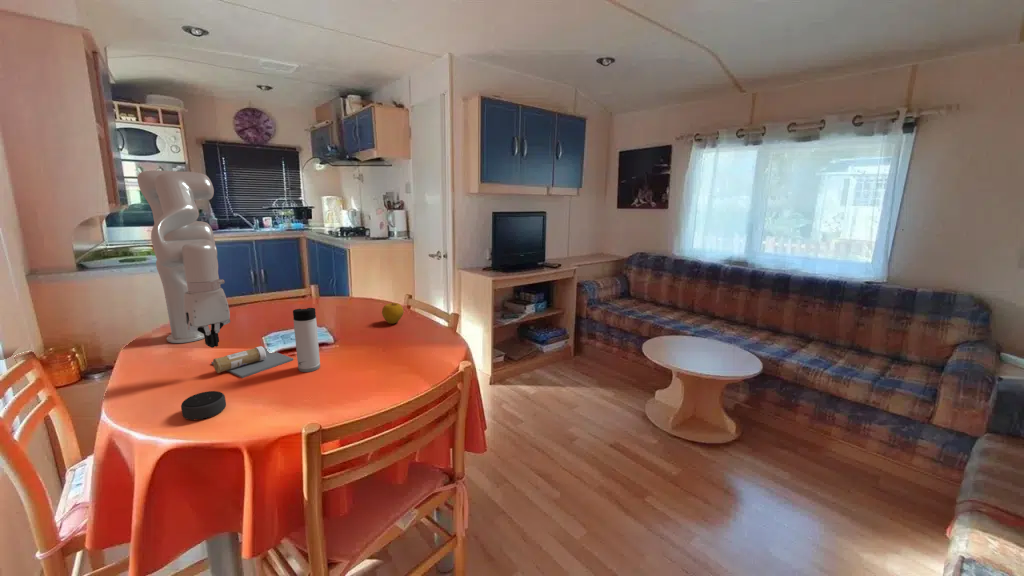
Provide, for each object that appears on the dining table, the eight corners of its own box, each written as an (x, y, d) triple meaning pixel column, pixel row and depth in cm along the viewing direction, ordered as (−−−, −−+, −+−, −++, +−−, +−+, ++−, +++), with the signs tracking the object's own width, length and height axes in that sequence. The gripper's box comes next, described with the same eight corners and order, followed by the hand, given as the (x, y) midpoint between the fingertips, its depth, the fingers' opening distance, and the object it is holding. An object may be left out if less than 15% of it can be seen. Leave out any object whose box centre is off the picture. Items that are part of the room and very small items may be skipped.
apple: (400, 326, 171) (399, 306, 169) (379, 326, 171) (378, 305, 169) (406, 320, 180) (405, 300, 178) (386, 319, 180) (385, 299, 178)
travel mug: (298, 374, 126) (292, 311, 121) (298, 366, 131) (292, 306, 127) (320, 370, 129) (315, 309, 124) (319, 362, 134) (314, 304, 130)
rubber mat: (211, 364, 131) (211, 362, 131) (262, 348, 144) (262, 346, 144) (242, 378, 122) (242, 376, 122) (293, 360, 136) (293, 358, 136)
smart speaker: (212, 421, 100) (210, 407, 99) (174, 422, 99) (171, 407, 98) (233, 403, 109) (231, 389, 108) (198, 403, 108) (196, 390, 107)
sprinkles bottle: (219, 373, 122) (267, 359, 132) (215, 358, 122) (264, 345, 132) (214, 373, 125) (262, 359, 135) (211, 359, 125) (259, 346, 135)
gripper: (225, 280, 126) (233, 336, 130) (166, 289, 114) (177, 351, 118) (238, 283, 122) (246, 341, 127) (178, 293, 110) (189, 357, 114)
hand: (212, 345), depth 122 cm, fingers closed
